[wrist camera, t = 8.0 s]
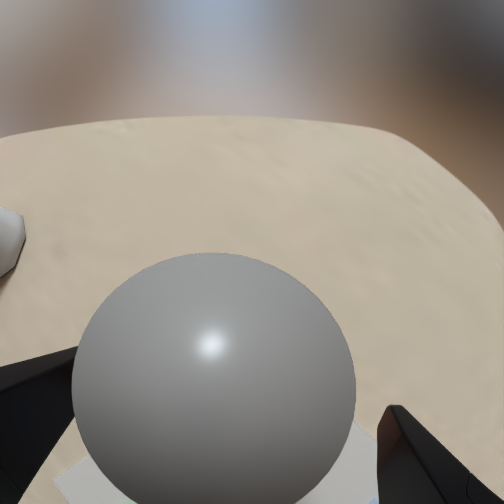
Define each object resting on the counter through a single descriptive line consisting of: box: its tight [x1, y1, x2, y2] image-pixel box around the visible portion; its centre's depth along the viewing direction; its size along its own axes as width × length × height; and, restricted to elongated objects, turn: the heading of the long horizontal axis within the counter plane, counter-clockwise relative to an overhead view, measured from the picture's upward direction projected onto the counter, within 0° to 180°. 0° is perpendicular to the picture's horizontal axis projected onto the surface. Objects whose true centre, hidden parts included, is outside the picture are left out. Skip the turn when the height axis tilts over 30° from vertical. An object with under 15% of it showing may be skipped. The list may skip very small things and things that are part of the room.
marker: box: [72, 253, 356, 504], centre depth 10 cm, size 4×4×12 cm
